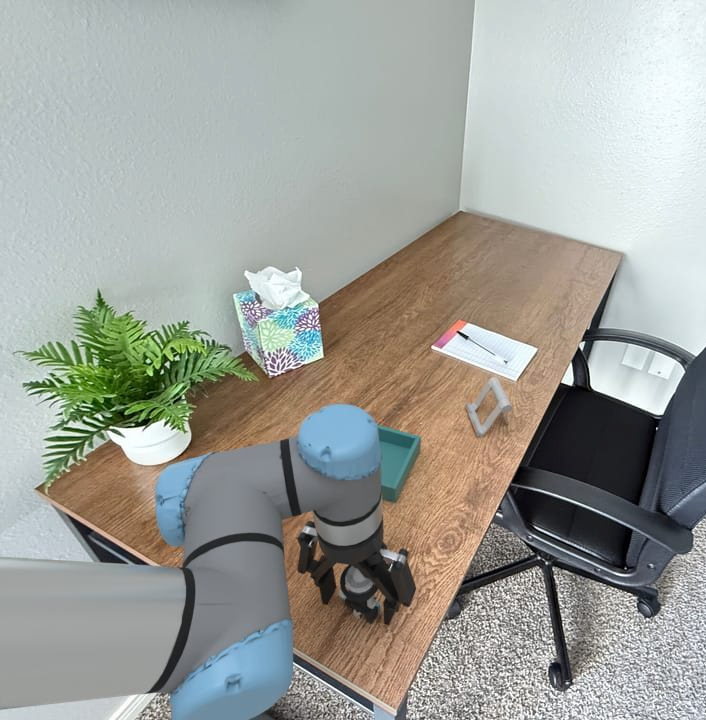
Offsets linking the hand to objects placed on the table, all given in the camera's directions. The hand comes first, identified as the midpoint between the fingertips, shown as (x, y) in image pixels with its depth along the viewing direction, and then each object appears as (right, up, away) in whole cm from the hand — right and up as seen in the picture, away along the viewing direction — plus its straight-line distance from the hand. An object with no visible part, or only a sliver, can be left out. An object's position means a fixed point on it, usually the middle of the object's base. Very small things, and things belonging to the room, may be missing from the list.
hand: (359, 605), depth 67 cm
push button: (0, 0, 0) cm, 0 cm away
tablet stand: (+19, +23, +32) cm, 44 cm away
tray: (-5, +16, +20) cm, 26 cm away
